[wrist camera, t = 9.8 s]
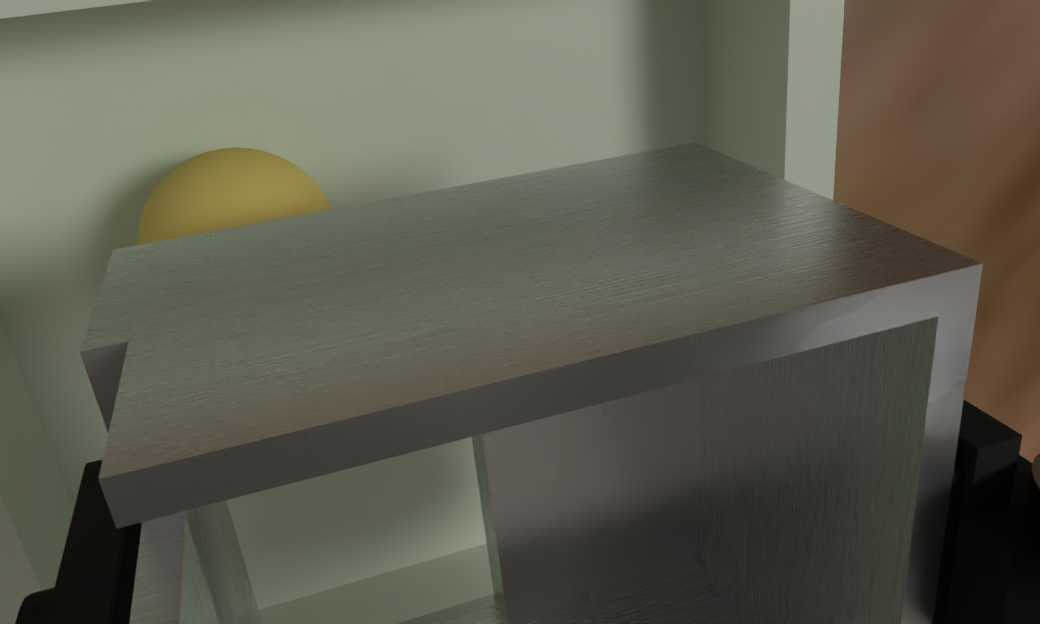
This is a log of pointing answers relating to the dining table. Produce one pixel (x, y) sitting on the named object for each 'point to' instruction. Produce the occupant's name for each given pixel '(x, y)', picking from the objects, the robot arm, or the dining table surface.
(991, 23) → the dining table surface
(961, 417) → the robot arm
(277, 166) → the ball
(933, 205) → the dining table surface
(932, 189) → the dining table surface
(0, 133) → the tray
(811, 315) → the open shelf cabinet
